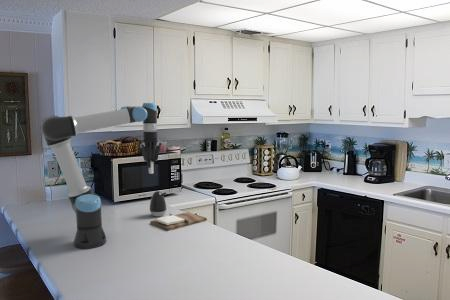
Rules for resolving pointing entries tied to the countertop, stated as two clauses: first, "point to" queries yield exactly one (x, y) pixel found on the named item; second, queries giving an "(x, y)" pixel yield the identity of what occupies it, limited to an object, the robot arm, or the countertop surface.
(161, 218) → the tile
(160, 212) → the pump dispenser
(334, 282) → the countertop surface
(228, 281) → the countertop surface
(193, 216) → the walnut board
